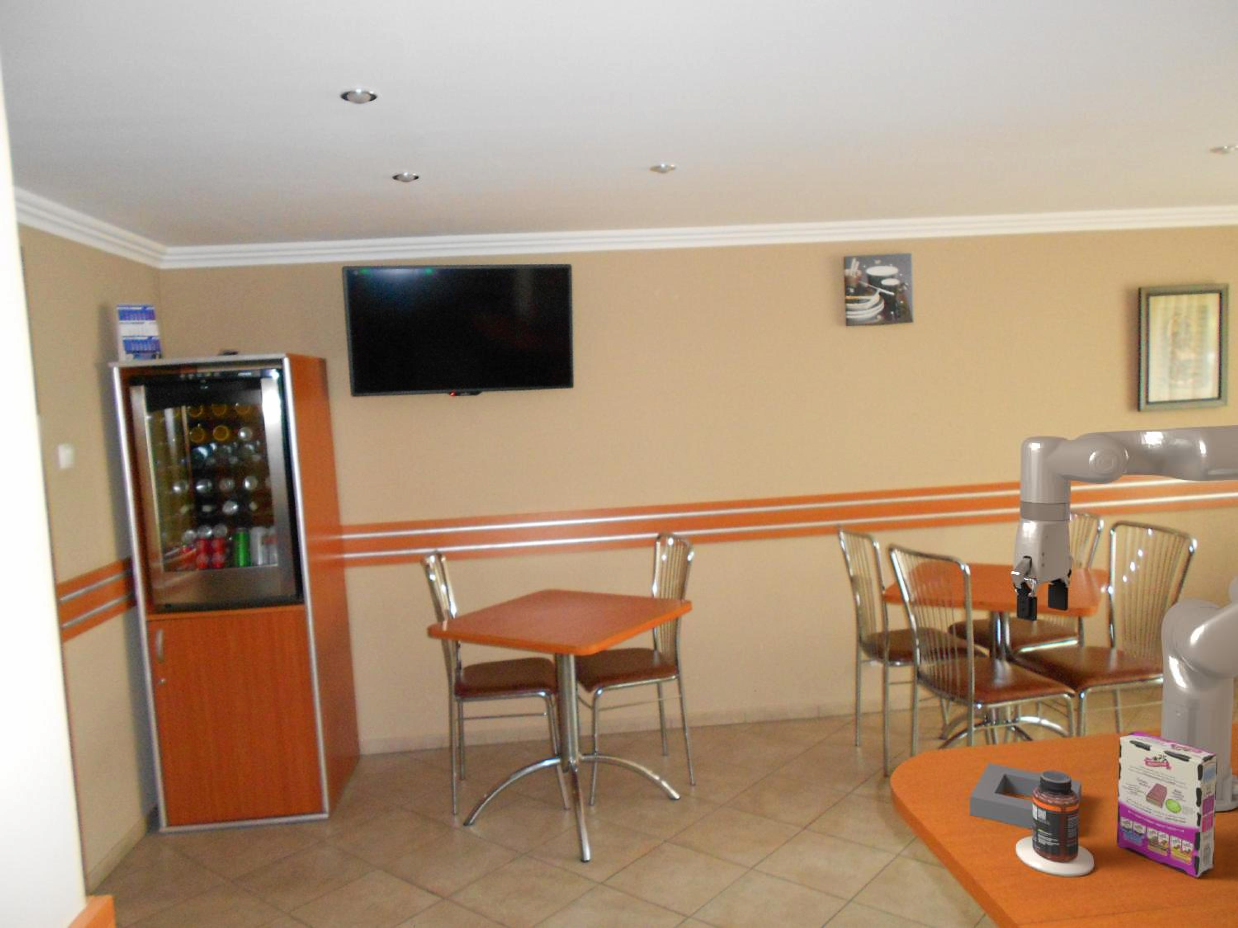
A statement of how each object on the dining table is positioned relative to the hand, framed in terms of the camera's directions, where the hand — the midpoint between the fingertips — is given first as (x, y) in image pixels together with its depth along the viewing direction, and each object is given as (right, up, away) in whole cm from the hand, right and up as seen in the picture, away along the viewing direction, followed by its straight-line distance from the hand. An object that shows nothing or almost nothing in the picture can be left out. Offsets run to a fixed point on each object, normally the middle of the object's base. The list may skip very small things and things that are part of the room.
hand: (1042, 614), depth 152 cm
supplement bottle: (-8, -31, -22) cm, 38 cm away
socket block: (-6, -29, -7) cm, 31 cm away
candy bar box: (+7, -31, -22) cm, 39 cm away
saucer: (-9, -31, -22) cm, 39 cm away
